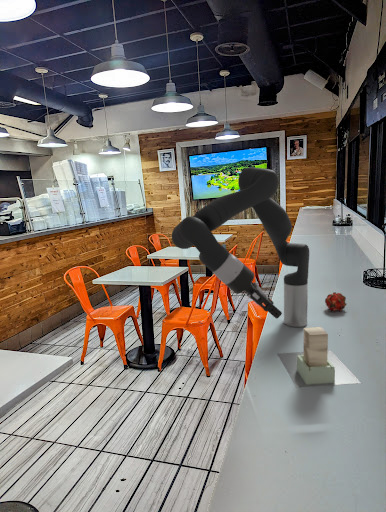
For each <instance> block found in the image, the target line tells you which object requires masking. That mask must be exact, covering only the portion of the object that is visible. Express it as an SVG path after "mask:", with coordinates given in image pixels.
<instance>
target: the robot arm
mask: <svg viewBox="0 0 386 512" xmlns="http://www.w3.org/2000/svg"><path fill="white" fill-rule="evenodd" d="M237 183H238V188H239V190H238V191H235V192H232V193H228V194H226V195H222V196H219V197H217V198H215V199H214V200H212V201H211V202H209V203H208V204H205V206H203V207H202V208H200V209H199V210H198V211H197V212H196V213H195V214H194V215H193V216H186V217H185V218H184V219H182V220H181V221H180V222H179V223H178V224H177V225H175V227H174V228H173V230H172V232H171V241H172V243H173V245H174V246H175V247H176V248H179V249H181V250H187V249H188V250H189V249H190V248H192V247H193V246H194V248H195V249H196V250H197V251H198V252H199V253H198V259H199V261H200V262H201V263H202V264H203V265H204V266H205V267H206V268H207V269H208V270H210V272H212V273H213V275H215V276H216V278H217V279H219V280H220V281H221V282H222V283H223V284H224V285H225V286H227V288H229V289H230V291H232V292H233V293H234V294H236V295H239V294H241V293H243V292H244V293H245V294H246V296H247V297H248V298H249V299H250V300H252V301H253V303H255V304H256V305H258V306H259V307H261V309H263V311H265V312H268V313H269V314H270V315H272V317H274V318H275V319H279V318H280V317H281V316H282V315H283V323H284V324H285V325H286V326H288V327H292V328H302V327H303V328H304V327H305V326H307V325H308V297H309V296H308V295H309V294H308V292H309V291H308V289H309V287H308V286H309V285H308V283H309V282H308V279H309V267H310V266H309V265H310V264H309V263H310V248H309V246H308V244H307V243H293V242H291V243H290V242H288V241H287V239H288V238H289V236H290V235H291V232H292V229H293V225H292V222H291V219H290V216H289V215H288V213H287V211H286V210H285V208H283V207H282V206H281V204H279V203H278V202H277V201H275V200H274V199H273V198H272V197H273V196H274V195H275V193H276V192H277V190H278V187H279V176H278V174H277V173H276V171H274V170H272V169H269V168H268V169H267V168H261V167H252V166H250V167H246V168H243V169H242V170H241V171H240V173H239V175H238V181H237ZM250 208H252V209H253V211H254V212H255V214H256V216H257V217H258V219H259V221H260V222H261V225H262V227H263V229H264V230H265V232H266V234H267V235H268V236H269V238H270V240H271V242H272V244H273V247H274V249H275V251H276V254H277V257H278V259H279V261H280V263H281V264H282V265H284V266H286V267H296V268H297V270H296V271H294V272H291V273H287V274H285V275H284V276H283V312H282V311H281V310H280V309H279V308H277V306H275V303H274V301H273V300H271V299H270V298H269V297H268V295H267V294H266V293H264V291H263V288H261V287H260V286H259V285H258V284H257V283H256V282H255V281H254V279H255V273H254V272H253V271H252V270H251V269H250V268H249V267H248V266H247V265H246V264H244V263H243V262H242V261H241V260H240V259H239V258H238V257H237V256H235V255H233V254H232V253H231V252H230V251H228V250H227V249H226V248H225V247H224V246H223V245H222V244H221V243H220V242H219V241H218V240H217V239H216V237H215V235H214V234H213V231H215V230H216V229H218V228H220V227H221V226H223V225H224V224H225V223H226V222H228V221H229V220H230V219H233V217H235V216H237V215H239V214H241V213H242V212H244V211H246V210H248V209H250ZM253 281H254V282H253Z"/></svg>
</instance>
